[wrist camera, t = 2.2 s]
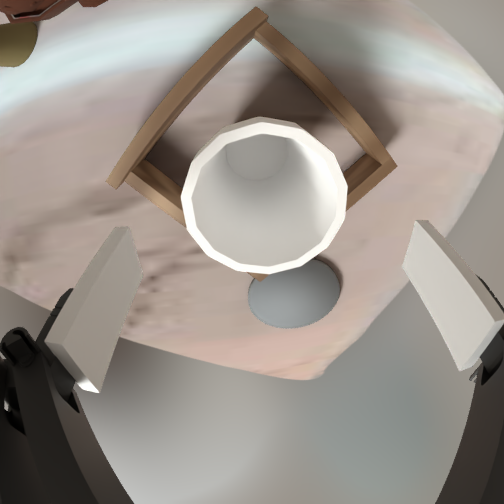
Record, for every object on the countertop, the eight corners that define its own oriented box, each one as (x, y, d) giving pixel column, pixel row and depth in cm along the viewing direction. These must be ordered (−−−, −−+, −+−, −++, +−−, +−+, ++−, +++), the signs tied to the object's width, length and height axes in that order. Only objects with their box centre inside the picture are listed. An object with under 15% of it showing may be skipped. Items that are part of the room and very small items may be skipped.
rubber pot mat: (229, 296, 37) (228, 300, 36) (298, 238, 32) (300, 242, 32) (289, 334, 42) (290, 338, 41) (354, 290, 37) (356, 294, 36)
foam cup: (261, 84, 23) (276, 86, 12) (323, 154, 27) (375, 212, 16) (188, 150, 26) (149, 207, 15) (252, 210, 30) (257, 296, 19)
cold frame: (129, 160, 26) (105, 181, 21) (253, 22, 19) (256, 6, 14) (258, 260, 34) (261, 294, 29) (380, 154, 26) (407, 173, 22)
